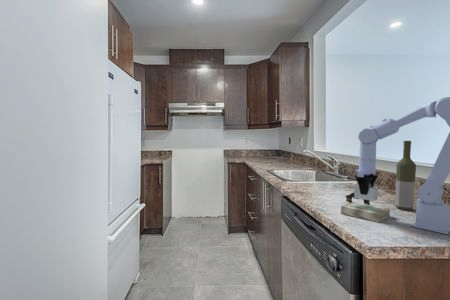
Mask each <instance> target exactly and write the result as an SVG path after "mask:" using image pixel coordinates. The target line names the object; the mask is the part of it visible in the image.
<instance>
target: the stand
mask: <svg viewBox="0 0 450 300" xmlns="http://www.w3.org/2000/svg"><path fill="white" fill-rule="evenodd" d="M390 212H391V209H390V208H389V207H383V206H377V205H372V204H370V205H368V204H364V203H361V202H356V201H352V202H351V203H349V202H347V203H346V204H344V205H341V208H340V215H341V214H342V215H345V216H348V217H349V216H351V217H355V218H358V219H362V220H363V219H364V220H368V221H370V222H371V221H372V222H377V223H381V222H383V221H384V220H386V219H387V218H389V217H390V214H391V213H390Z"/></svg>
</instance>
